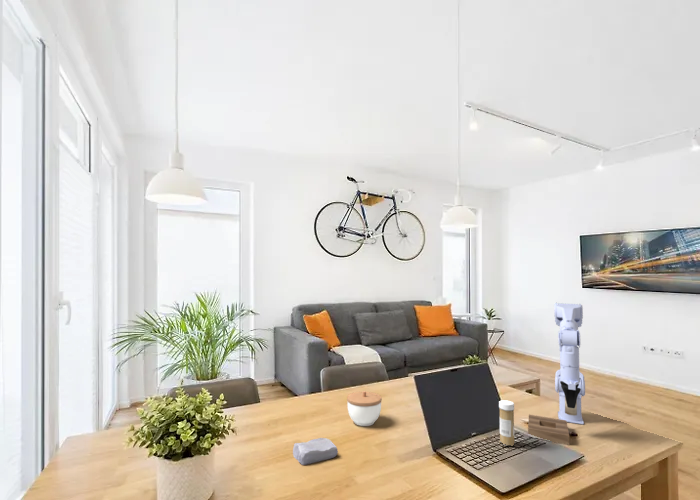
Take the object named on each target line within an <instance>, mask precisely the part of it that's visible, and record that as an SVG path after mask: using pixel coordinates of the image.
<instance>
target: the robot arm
mask: <svg viewBox="0 0 700 500" xmlns="http://www.w3.org/2000/svg"><path fill="white" fill-rule="evenodd" d="M553 307H554V322H555V325H556V326H558V327H559V331H558V332H557V333H558V334H557V338H558V339H557V341H558V342H557V343H558V346H559V349H558V350H559V360H560V361H559V362H560V363H559V367H560V368H559V369H557V370H556V372H555V377H554V388H555V392H556V394H557V393H558V395H559V396H558V397H559V398H558V399H559V400H558V403H559V405H558V406H559V410H558V411H557V417H558V419H561V420H566V422H567V423H572V424H578V425H585V423H584V420H583V416H582V397H584V396H586V380H585V376H584V374H583V373H582V372H581V371H580V348H581V332H580V330H579V328H581V327H582V325H583V318H584V315H583V314H584V313H583V309H584V308H583V304H581V303H579V304H578V303H563V302H562V303H559V302H556V303H554V305H553ZM565 398H566V403H567V407H568V408H575V405H576V400H577V415H568V414H566V413H565Z"/></svg>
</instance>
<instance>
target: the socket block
mask: <svg viewBox="0 0 700 500" xmlns="http://www.w3.org/2000/svg"><path fill="white" fill-rule="evenodd" d="M527 424H528V427H527V435H528V434H531V435H534V436H537V437H540V438H543V439H547V440H550V441H552V442H551V443H557V444H561V445H566V446H570V432H569V426H568V422H566V420H561V419H559V418H553V417H546V416H541V415H534V414H530V413H529V414H528V423H527ZM550 441H549V442H550Z"/></svg>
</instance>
